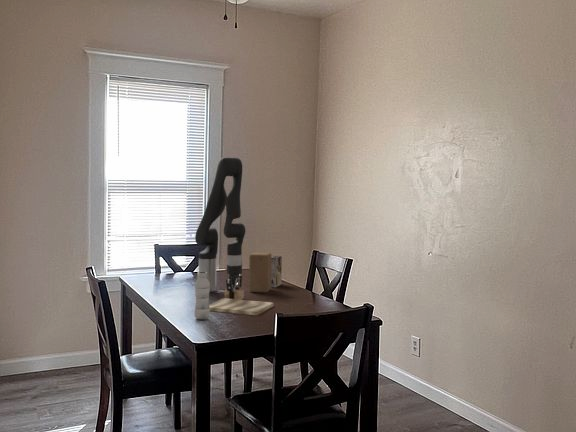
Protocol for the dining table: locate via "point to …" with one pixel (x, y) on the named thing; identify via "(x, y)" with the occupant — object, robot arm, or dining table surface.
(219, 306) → the board
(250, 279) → the wooden block
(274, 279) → the coffee box
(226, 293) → the block
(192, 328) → the dining table surface
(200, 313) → the plastic bottle
